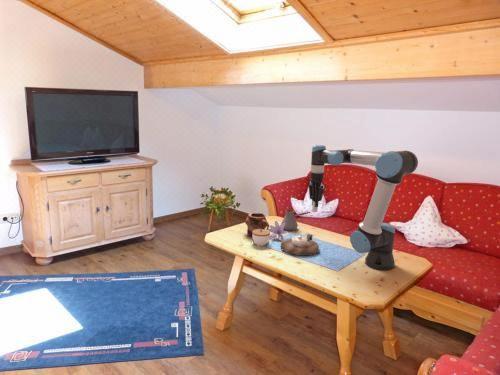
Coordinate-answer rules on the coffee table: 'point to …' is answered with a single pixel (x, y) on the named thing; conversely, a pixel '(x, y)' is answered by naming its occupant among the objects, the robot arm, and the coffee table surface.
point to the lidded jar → (260, 236)
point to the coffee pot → (291, 220)
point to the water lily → (277, 231)
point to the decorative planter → (256, 222)
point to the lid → (299, 241)
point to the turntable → (307, 250)
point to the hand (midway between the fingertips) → (314, 211)
